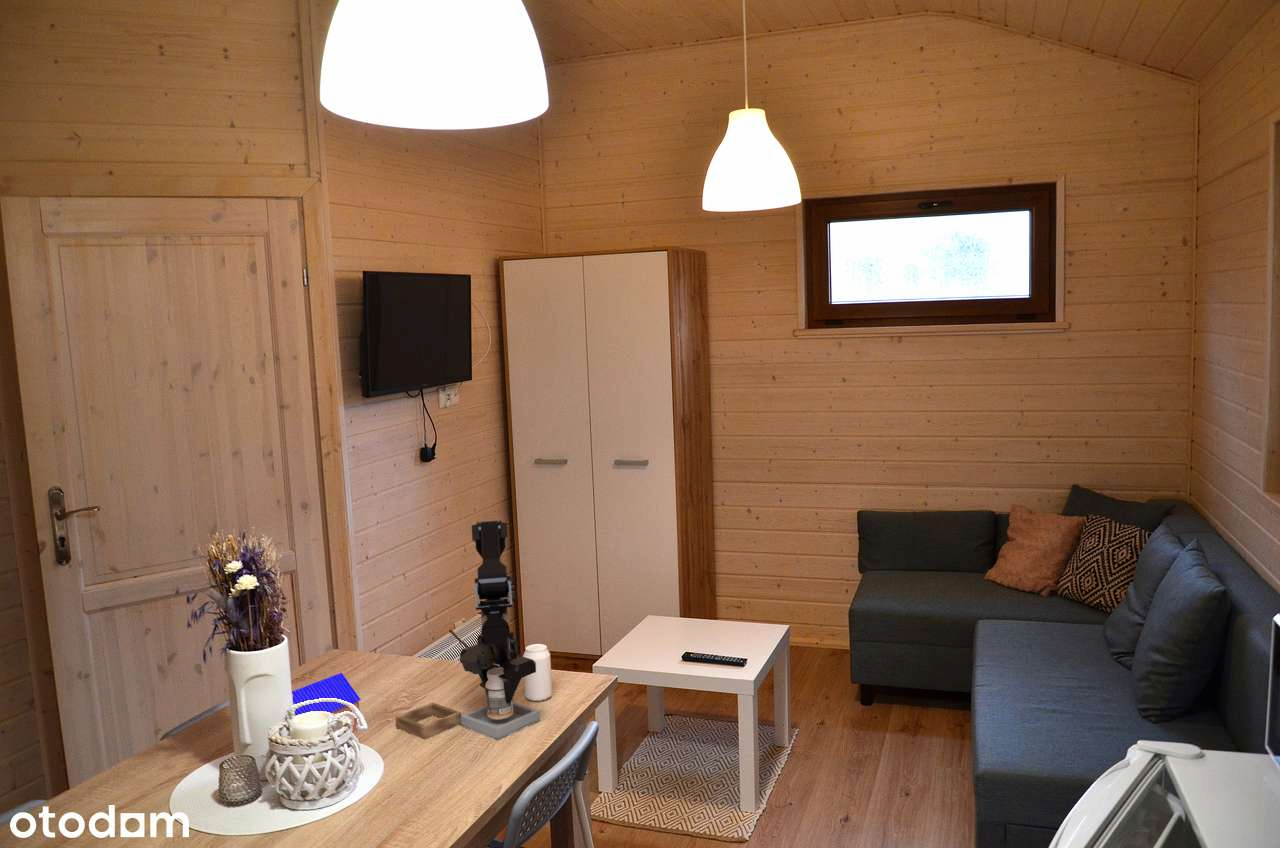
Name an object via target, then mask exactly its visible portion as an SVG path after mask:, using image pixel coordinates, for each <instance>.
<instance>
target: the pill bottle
mask: <svg viewBox="0 0 1280 848" xmlns="http://www.w3.org/2000/svg"><path fill="white" fill-rule="evenodd" d="M502 674H504V673H503V667H498V668H492V669H490V670H488V671H487V678H488V681H487V682H486V684H485V688H484V689H485V690H484V691H485V702H486V703H485V704H486V705H485V706H487V715H488V717H489V718H491V719H495V720H500V719H505V718H508V717H510V716H511V715H512V714H513V702H514V698H513V699H512V701H511V702H510V703H506V699H505V692H504V683H503V680H501V679H500V678H499V677H498V676H499V675H502Z"/></svg>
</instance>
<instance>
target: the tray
mask: <svg viewBox="0 0 1280 848" xmlns="http://www.w3.org/2000/svg"><path fill="white" fill-rule="evenodd" d="M461 715H462V716H461V724H460V725H461V727H462V726H463V727H462V728H464V727H466V728H465V729H467V728H469V729H468V730H470V729H472V730H474V731H473V732H475V731H476V732H475V733H478V732H479V733H478V734H480V733H481V735H483V734H484V735H483V736H485V735H486V737H488V736H489V737H488V738H491V737H492V738H491V739H493V738H494V739H493V740H496V741H500V740H502V739H505V738H506V737H508V735H509V734H511V733H513V732H515V731H517V732H519V731H518V730H520V729H522V728H524V727H526V726H528V727H530V726H529V725H531V724H533V723H535V724H537V723H539V722H541V712H540V709H539V710H538V709H535V708H534V707H533V708H532V707H529V706H526V705H525V704H524V705H523V704H521V703H517V702H514V701H513V714H512V715H511V716H510V717H508V718H505V719H500V720H495V719H491V718H489V717H488V715H487V706H486V705H484V706H482V707H480V708H476V709H475V710H471V711H470V712H468V713H465V714H461ZM538 721H539V722H538ZM536 722H537V723H536ZM533 725H534V724H533ZM531 726H532V725H531ZM526 728H527V727H526ZM524 729H525V728H524ZM472 730H471V731H472ZM522 730H523V729H522ZM520 731H521V730H520ZM515 733H516V732H515ZM513 734H514V733H513ZM511 735H512V734H511ZM509 736H510V735H509Z"/></svg>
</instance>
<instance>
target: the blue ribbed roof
mask: <svg viewBox="0 0 1280 848" xmlns="http://www.w3.org/2000/svg"><path fill="white" fill-rule="evenodd" d="M291 692H292V694H293V703H294V704H297V703H300V702H304V701H307V700H314V699H319V698H337V699H341V700H344V701H347V702H350V703H352V704H354V705H355V706H356V707H357V708H358V709H359V710H360V701H361V697H359V695H358V693H357V692H356V691H355V689H354V688H353V686H352V685H351V684H350V683H349V681H348V679H347V678H346V677H345V675H344V674H343V672H339V673H337V674H334V675H332V676H329V677H326V678H324V679H322V680H318V681H315V682H313V683H311V684H308V685H306V686H303V687H300V688H298V689H295V690H292V691H291ZM310 711H327V712H330V713H334V714H337V713H341V712H344V711H350V712H352V710H351V709H350V708H349V707H348V706H346V705H343V704H341V703H337V702H319V703H313V704H309V705H305V706H302V707H300V708H298V709H296V711H295V714H296V715H298V714H302V713H306V712H310ZM356 724H358V723H357V718H354V725H353V731H354V732H357V731H358V730H357V728H356ZM354 732H353V733H354Z"/></svg>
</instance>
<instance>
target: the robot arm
mask: <svg viewBox="0 0 1280 848" xmlns="http://www.w3.org/2000/svg"><path fill="white" fill-rule="evenodd" d="M471 539H472V541H471V542H472V543H475V550H476V552H478V555H479V556H480V557H481V559H482V563H481V564H480V566H478V567H477V578H474V594H475V596H474V597H475V598H474V599H475V610H476V611H478V610H479V611H480V621H481V625H480V627H481V629H480V634H479V635H478V637H477V639H476V640H477V643H476V644H473V645H471V646H468V647H465V648H463V649H462V650H461V652H460V653H459V661H460V664H462V667H463V670H464V671H465V672H469V673H472V674H473V675H478V676H479V679H480V681H481V682H480V683H479V686H480V687H483V688H484V689H485V684H486V682H487V681H488V678H487V671H488V670H490V669H492V668H498V667H503V673H504V674H502V675H499V676H498V677H499V678H500V679H501V680H503V683H504V692H505V699H506V703H510V702H511V701H512V699H513V700H514V696H515V693H516V691H517V689H518V686H519V684H520V682H521V680H522V678H523V679H524V677H525V676H528V675H530V674H532V673H535V672H536V662H535V661H533V660H532V659H529V658H525V657H523V655H522V656H519V657H518V643H517V642H518V641H517V640H515V637H514V632H513V631H511V628H510V620H509V608H513V602H515V601H516V598H515V583H514V580H513V579H512V576H511V575H508V571H507V570H508V569H507V568H508V567H507V566H506V565H505V564H504V563H503V562H502V560H501V557H502V554H504V553H503V552H504V551H505V550H506V540H509V531H508V522H503V520H500V519H499V520H486V521H485V520H484V521H476V524H471ZM479 600H480V601H479Z"/></svg>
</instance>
